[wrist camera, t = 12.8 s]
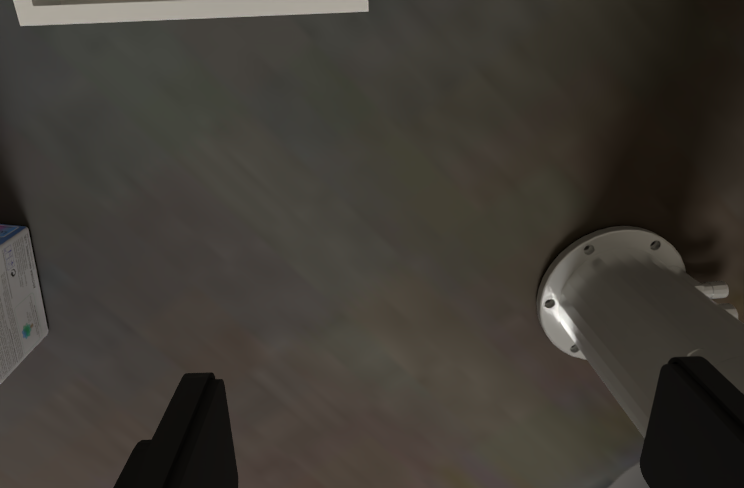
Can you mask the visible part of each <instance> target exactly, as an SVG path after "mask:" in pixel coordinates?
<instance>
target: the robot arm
mask: <svg viewBox="0 0 744 488" xmlns="http://www.w3.org/2000/svg"><path fill="white" fill-rule="evenodd" d="M728 294H729V288H728V285H727V284H726V283H725V282H723V281H713V282H706V283H699V282H698V281H696V280H695V279H694V278H692V277H691V276H690V275H688V274H687V273H686V269H685V265H684V263H683V260H682V258H681V255H680V254H679V253H678V251H677V250H676V249H675V248H674V246H673V245H671V244H670V243H669V242H668V241H666V240H665V239H664V238H662V237H661V236H659V235H657V234H656V233H654V232H652V231H649V230H646V229H644V228H641V227H633V226H616V227H609V228H605V229H601V230H597V231H595V232H592V233H590V234H588V235H585V236H583V237H582V238H580V239H578V240H577V241H575V242H574V243H572V244H570V245H569V246H568V247H567V248H566V249H565V250H563V251H562V252H561V253H560V254H559V255H558V256H557V257H556V259H555V260H554V261H553V262H552V263H551V265H550V266H549V268H548V269H547V271H546V273H545V274H544V276H543V278H542V281H541V284H540V286H539V289H538V295H537V301H536V304H537V315H538V318H539V322H540V325H541V327H542V328H543V330H544V332H545V333H546V335H547V336H548V338H549V339H550V340H551V342H552V343H553V344H554V345H555V346H557V347H558V348H559V349H560V350H561V351H563V352H565V353H567V354H569V355H571V356H574V357H578V358H581V359H587V360H588V362H589V363H590V364H591V366H592V367H593V369H594V370H595V371H596V373H597V374H598V375H599V377H600V378H601V379H602V381H603V382H604V384H605V385H606V386H607V388H608V389H609V390H610V392H611V393H612V394H613V396H614V397H615V399H616V400H617V401H618V403H619V404H620V405H621V407H622V408H623V409H624V411H625V412H626V414H627V415H628V416H629V418H630V419H631V420H632V422H633V423H634V424H635V426H636V427H637V429H638V430H639V431H640V433H641V434H642V435H643V437H644V438H645V440H644V445H643V449H642V454H641V458H640V468H641V472H642V475H643V477H644V479H645V480H646V482H647V484H648V485H649V487H650V488H744V324H743V323H742V322H741V321H739V320H738V313H737V310H736V308H735V307H734V306H733V305H731V304H729V303H726V304H717V303H715V302H714V301H713V300H712V299H715V298H725V297H727V295H728ZM114 488H238V472H237V466H236V459H235V452H234V446H233V439H232V432H231V426H230V419H229V412H228V406H227V399H226V392H225V385H224V382H223V380H222V379H215V376H214V374H213V373H186V374H184V376H183V377H182V379H181V381H180V383H179V385H178V387H177V389H176V391H175V393H174V395H173V397H172V399H171V401H170V403H169V405H168V407H167V410H166V412H165V414H164V416H163V418H162V420H161V422H160V424H159V426H158V428H157V430H156V432H155V434H154V436H153V438H152V440H141V441H140V442H138V443H137V445H136V446H135V448H134V449H133V451H132V453H131V455H130V457H129V459H128V461H127V463H126V465H125V466H124V468H123V470H122V472H121V474H120V476H119V478H118V480H117V482H116V484H115V486H114Z"/></svg>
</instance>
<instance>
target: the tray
mask: <svg viewBox="0 0 744 488" xmlns="http://www.w3.org/2000/svg"><path fill="white" fill-rule="evenodd" d="M13 2H14V5H15V9H16V12H17V16H18V19H19V23H20V26H35V25H58V24H82V23H106V22H130V21H153V20H177V19H201V18H225V17H249V16H272V15H296V14H320V13H344V12H368V11H369V10H368V0H13Z"/></svg>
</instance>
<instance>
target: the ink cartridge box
mask: <svg viewBox="0 0 744 488" xmlns="http://www.w3.org/2000/svg"><path fill="white" fill-rule="evenodd" d="M47 334H48V327H47V322H46V316H45V311H44V306H43V301H42V296H41V291H40V285H39V280H38V275H37V270H36V265H35V260H34V255H33V250H32V245H31V240H30V234H29V229H28V228H27V227H26V226H16V225H5V224H0V384H1V383H2V382H3V381H4V380H5V379H6V378H7V377H8V376H9V375H10V373H11V372H12V371H13V370H14V369H15V368H16V367H17V366H18V365H19V364H20V363H21V362H22V361H23V359H24V358H25V357H26V356H27V355H28V354H29V353H30V352H31V351H32V350H33V349H34V348H35V347H36V346H37V345H38V344H39V342H40V341H41V340H42V339H43V338H44V337H45V336H46V335H47Z"/></svg>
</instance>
